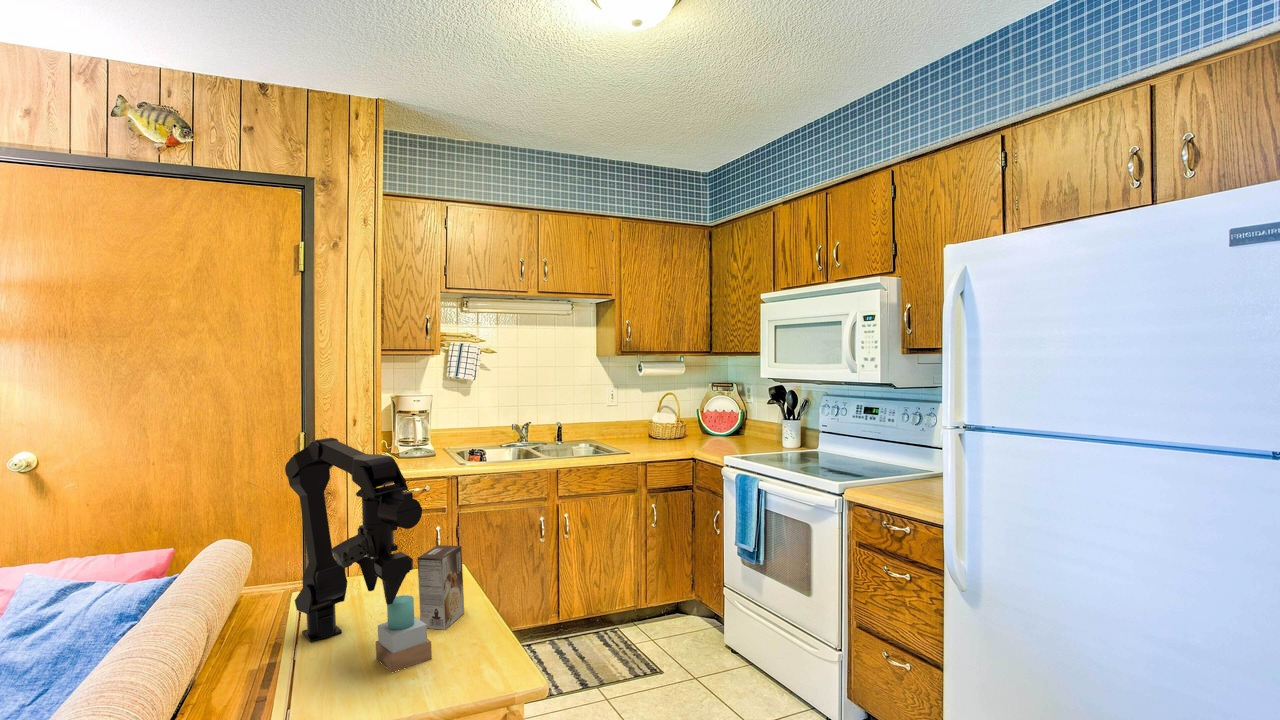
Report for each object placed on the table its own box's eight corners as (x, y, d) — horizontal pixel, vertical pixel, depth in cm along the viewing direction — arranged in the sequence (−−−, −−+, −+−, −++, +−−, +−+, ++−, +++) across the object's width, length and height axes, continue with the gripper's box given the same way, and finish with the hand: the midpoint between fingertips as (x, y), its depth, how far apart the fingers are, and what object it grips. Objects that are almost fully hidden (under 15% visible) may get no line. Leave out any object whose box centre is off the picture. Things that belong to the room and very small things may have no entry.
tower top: (378, 642, 135) (377, 625, 135) (412, 631, 140) (411, 614, 140) (392, 653, 130) (392, 635, 130) (427, 641, 135) (426, 624, 135)
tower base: (376, 661, 136) (375, 641, 136) (414, 647, 141) (414, 629, 141) (392, 675, 130) (391, 654, 130) (431, 660, 135) (431, 641, 135)
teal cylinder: (383, 624, 135) (382, 600, 135) (407, 617, 138) (407, 593, 138) (394, 632, 131) (393, 606, 131) (418, 624, 135) (417, 599, 135)
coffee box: (439, 611, 159) (437, 544, 158) (465, 613, 157) (462, 545, 157) (419, 628, 150) (416, 557, 149) (446, 630, 148) (443, 558, 148)
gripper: (319, 519, 136) (322, 595, 137) (354, 539, 122) (356, 624, 123) (374, 508, 144) (376, 580, 144) (413, 527, 130) (415, 606, 131)
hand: (380, 597), depth 135 cm, fingers open, 9 cm apart
